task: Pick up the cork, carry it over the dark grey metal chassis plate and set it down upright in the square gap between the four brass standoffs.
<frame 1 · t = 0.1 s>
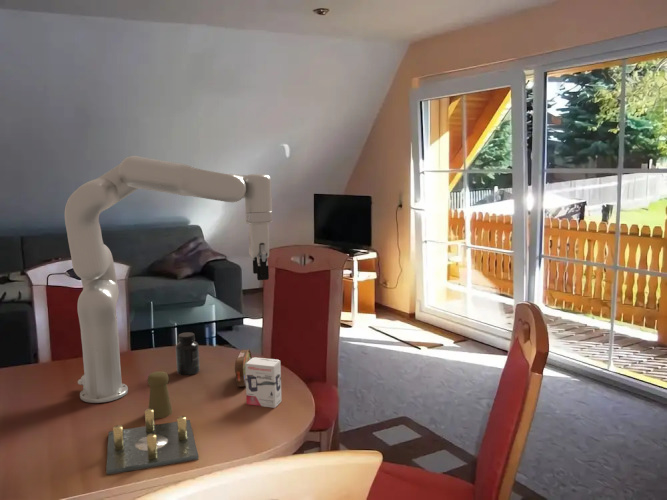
hand: (260, 276, 176), 31 cm above the table, tool pointing down, fingers open, 9 cm apart
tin: (244, 381, 179), on the table
ink box: (264, 403, 163), on the table
chassis plate: (151, 447, 139), on the table
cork: (160, 414, 157), on the table
supplement bottle: (188, 372, 187), on the table
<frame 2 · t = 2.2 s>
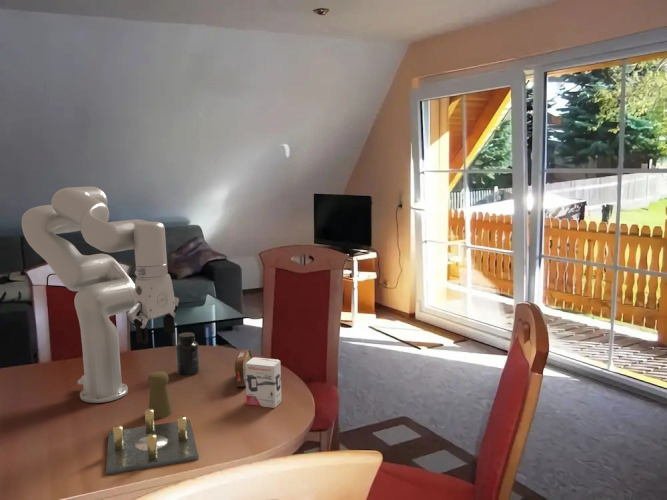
hand: (156, 337, 154), 21 cm above the table, tool pointing down, fingers open, 9 cm apart
nothing on the table moved.
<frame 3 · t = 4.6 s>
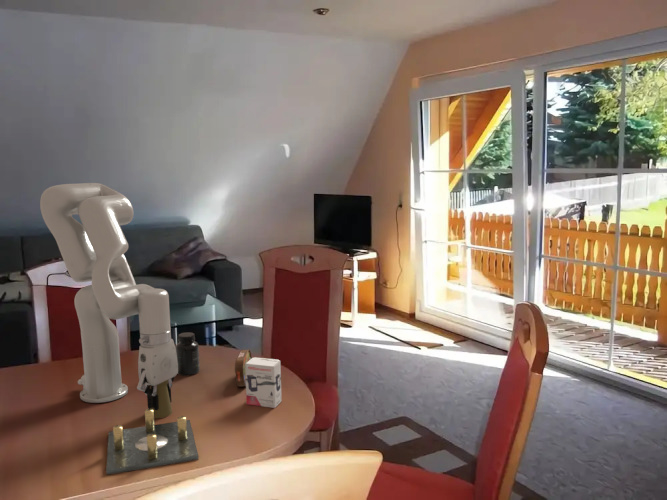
hand: (159, 404, 157), 2 cm above the table, tool pointing down, fingers closed on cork, 4 cm apart
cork: (160, 414, 157), on the table, touching gripper
everything else where it was.
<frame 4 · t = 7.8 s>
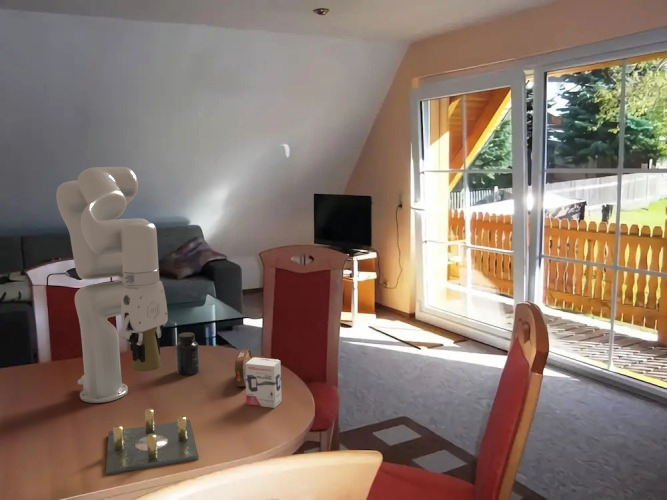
hand: (146, 357, 136), 21 cm above the table, tool pointing down, fingers closed on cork, 4 cm apart
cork: (147, 367, 137), point 19 cm above the table, touching gripper
everything else where it was.
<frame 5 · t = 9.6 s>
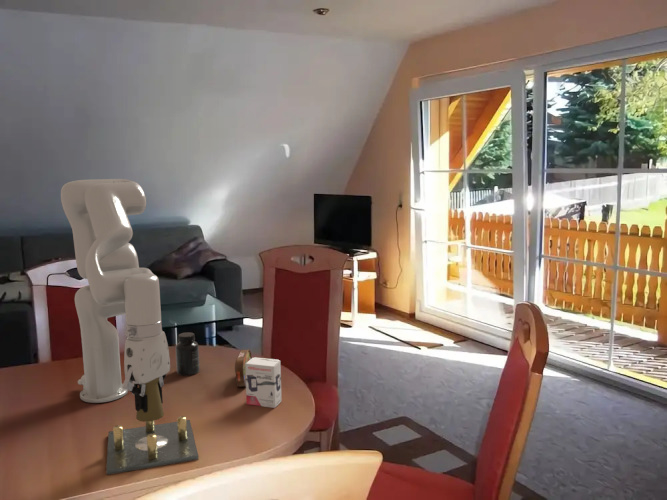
hand: (149, 406, 138), 10 cm above the table, tool pointing down, fingers closed on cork, 4 cm apart
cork: (150, 416, 138), point 7 cm above the table, touching gripper
everything else where it was.
when the fingers open (5 cm above the table, at t = 11.1 s): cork drops 1 cm, resting on chassis plate.
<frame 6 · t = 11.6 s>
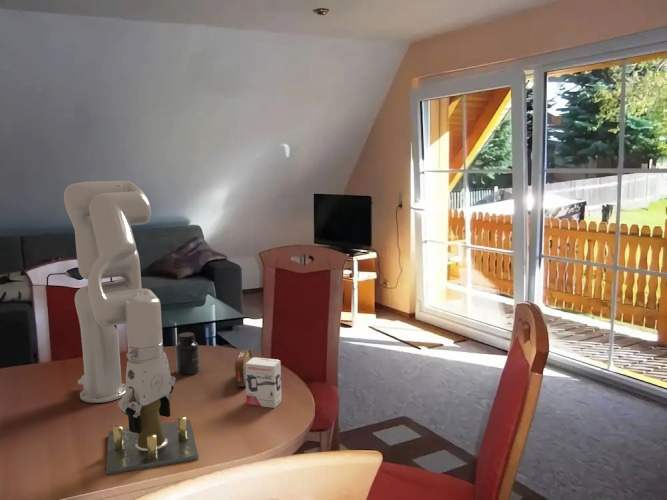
hand: (150, 423, 138), 6 cm above the table, tool pointing down, fingers open, 8 cm apart
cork: (151, 443, 139), point 1 cm above the table, touching chassis plate
everything else where it was.
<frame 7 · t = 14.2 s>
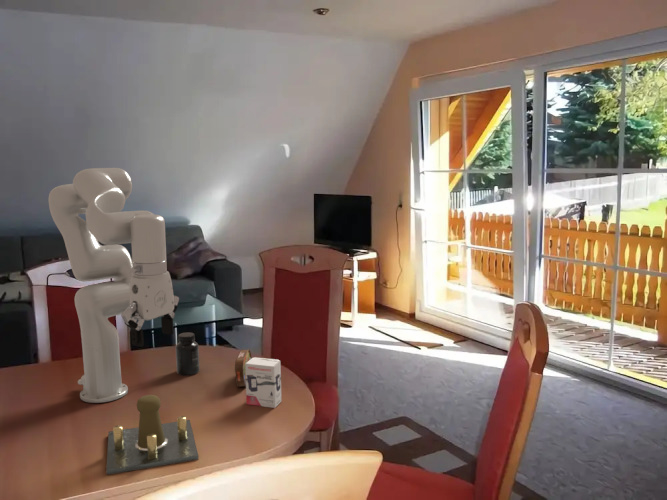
hand: (153, 339, 143), 23 cm above the table, tool pointing down, fingers open, 9 cm apart
nothing on the table moved.
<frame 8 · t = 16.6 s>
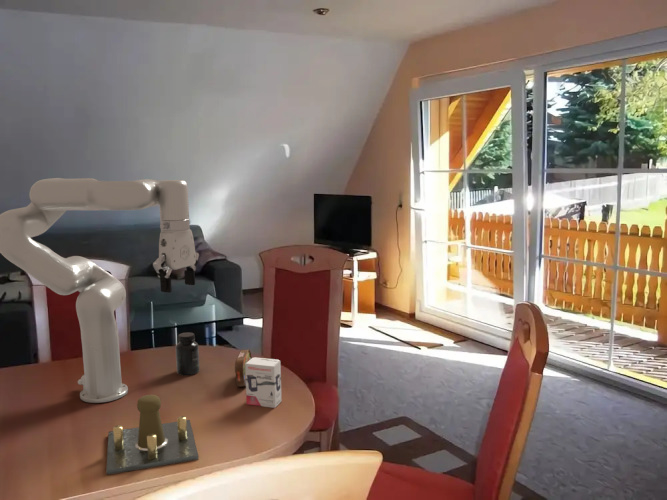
hand: (178, 288, 165), 30 cm above the table, tool pointing down, fingers open, 9 cm apart
nothing on the table moved.
at the end: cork 0.1 cm from the chassis plate (horizontally); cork tilted 0°; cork touching chassis plate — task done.
